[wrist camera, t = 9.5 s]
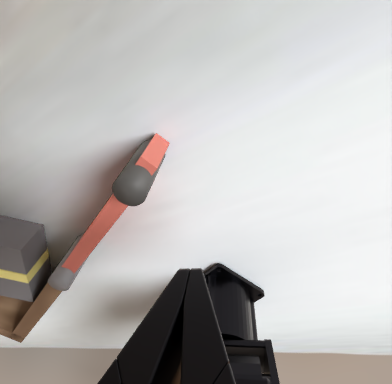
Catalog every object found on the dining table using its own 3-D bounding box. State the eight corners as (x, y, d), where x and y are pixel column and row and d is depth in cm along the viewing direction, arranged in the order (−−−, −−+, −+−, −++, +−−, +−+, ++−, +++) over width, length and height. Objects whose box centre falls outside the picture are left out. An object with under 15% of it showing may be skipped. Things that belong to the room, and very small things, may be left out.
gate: (91, 251, 26) (62, 299, 21) (73, 241, 26) (40, 288, 21) (174, 146, 19) (157, 185, 14) (151, 129, 18) (126, 164, 14)
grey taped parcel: (44, 224, 25) (20, 251, 22) (52, 275, 30) (33, 303, 27) (-18, 210, 25) (-51, 235, 22) (0, 263, 29) (-26, 291, 26)
